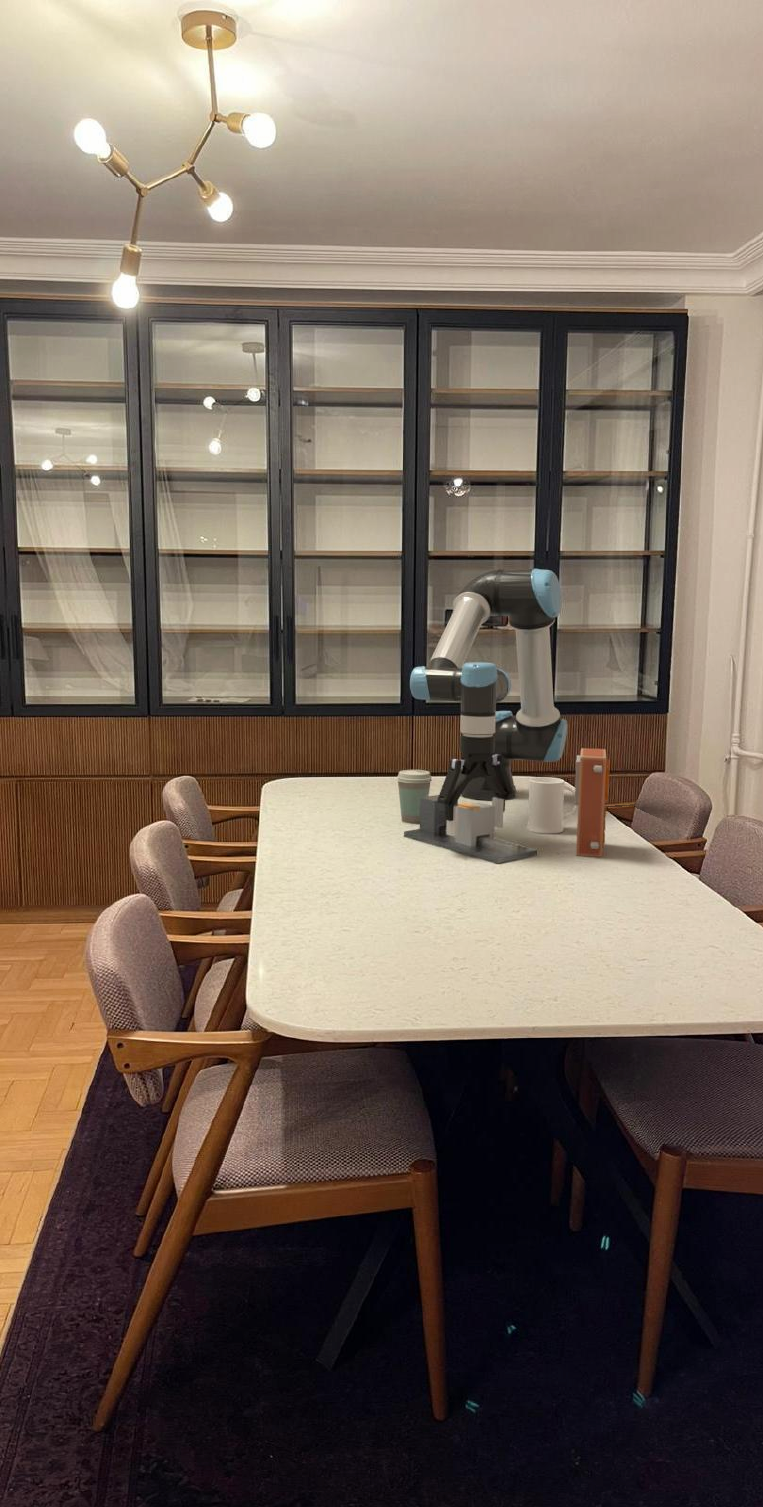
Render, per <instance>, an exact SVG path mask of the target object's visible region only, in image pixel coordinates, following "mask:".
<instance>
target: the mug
mask: <svg viewBox="0 0 763 1507" xmlns="http://www.w3.org/2000/svg"><path fill="white" fill-rule="evenodd" d="M528 785H529V786H528V787H529V788H528V817H527V826H526V830H527V831H529V832H532V833H535V834H542V835H545V834H547V835H549V834H550V835H552V834H554V835H555V834H560V833H562V832H563V831H564V825H563V824H564V822H563V820H564V819H567V818H569V817H570V816H572V815H573V814H574V813H575V812H576V810H577V809H578V805H574V807H573V808H572V810H570V811H569V812H566V813H564V796H565V795H564V794H565V791H569V792H570V793H572V794H573V795H574V797H575V789H573V788H572V787H570V786H569V785H567V784H565V780H564V779H562V778H558V777H549V776H548V777H546V776H545V777H544V776H543V777H542V776H540V777H539V776H538V777H536V776H535V777H531V778H529V784H528Z"/></svg>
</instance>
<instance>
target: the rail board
mask: <svg viewBox="0 0 763 1507" xmlns="http://www.w3.org/2000/svg"><path fill="white" fill-rule="evenodd" d="M438 797H439V794H436V795H435V794H434V795H429V796H427V797H420V823H419V828H417V829H410V830H404V831H403V837H404V838H408V839H411V840H413V841H414V840H415V841H418V842H422V843H424V844H427V845H428V844H429V845H431V844H432V846H434V845H435V847H439V848H441V847H442V848H441V849H445V850H449V851H451V852H456V853H458V854H459V853H460V854H463V855H466V856H470V857H472V858H475V859H480V860H482V861H485V862H490V863H493V864H497V865H498V864H502V863H507V862H511V861H512V860H513V861H518V860H522V859H527V858H531V857H536V856H538V849H536V848H532V847H528V846H524V845H520V844H518V843H514V842H513V843H512V842H509V841H505V840H502V839H498V838H495V837H494V838H490V837H486V836H483V835H481V836H476V846H468V845H464V844H461V843H457V842H455V836H451V835H447V834H446V830H447V820H445V805H444V804H442V803H439V802H438V801H437V799H438ZM444 798H445V797H444ZM451 800H452V799H451ZM458 804H459V800H458V801H457V802H456V804H455V806H458Z"/></svg>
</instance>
